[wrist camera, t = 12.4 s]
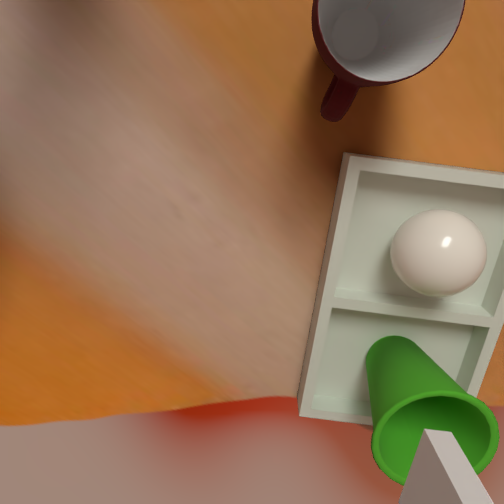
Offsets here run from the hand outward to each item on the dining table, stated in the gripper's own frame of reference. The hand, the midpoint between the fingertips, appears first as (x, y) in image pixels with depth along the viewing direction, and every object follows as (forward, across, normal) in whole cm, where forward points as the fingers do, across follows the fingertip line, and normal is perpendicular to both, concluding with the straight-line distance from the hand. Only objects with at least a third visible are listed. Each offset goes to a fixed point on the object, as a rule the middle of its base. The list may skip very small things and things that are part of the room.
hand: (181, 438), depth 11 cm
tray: (+26, +17, -6) cm, 32 cm away
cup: (+26, +17, -12) cm, 33 cm away
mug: (+27, +7, +14) cm, 31 cm away
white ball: (+26, +17, 0) cm, 30 cm away
